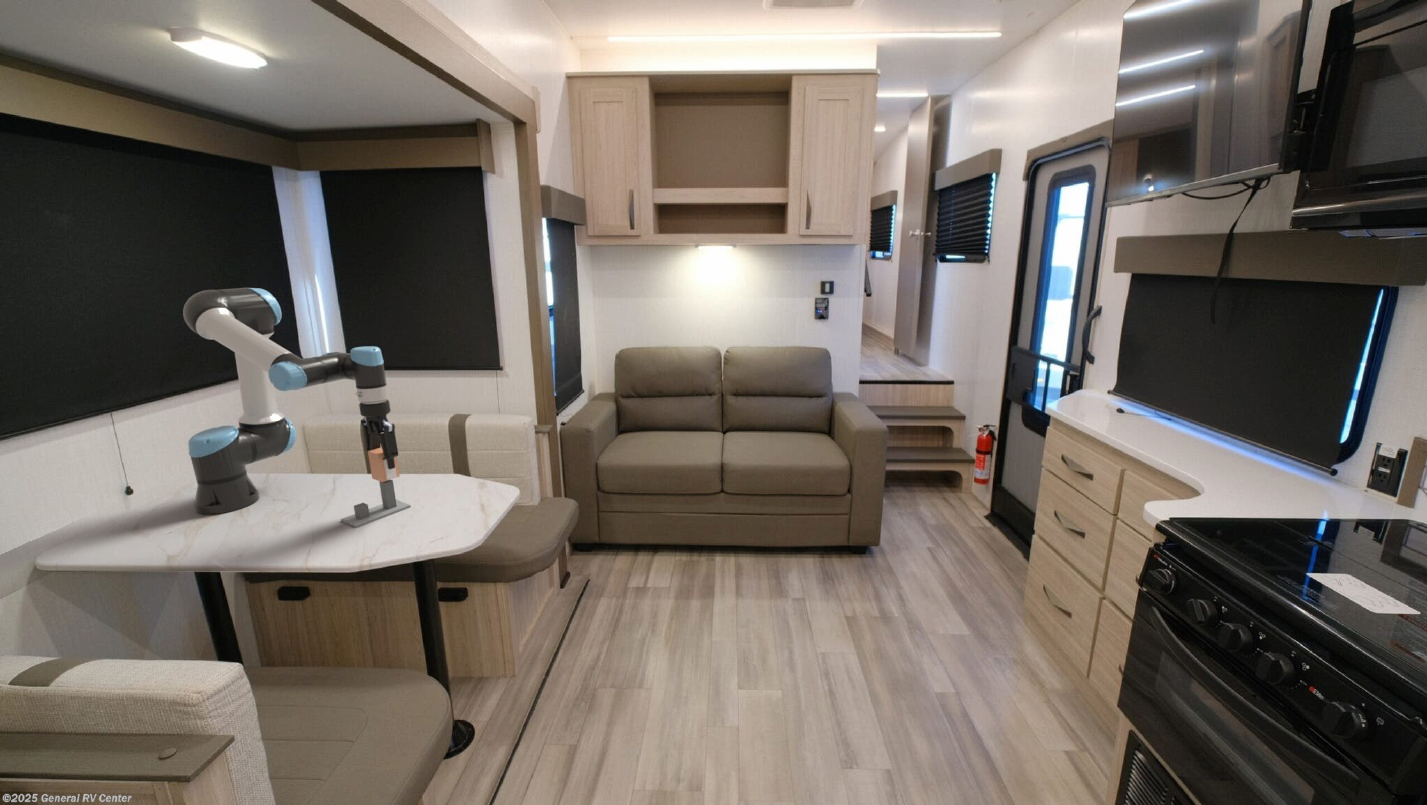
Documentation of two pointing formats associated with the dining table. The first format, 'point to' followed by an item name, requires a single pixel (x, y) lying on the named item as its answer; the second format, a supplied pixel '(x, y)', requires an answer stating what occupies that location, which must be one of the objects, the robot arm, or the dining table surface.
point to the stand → (377, 507)
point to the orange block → (379, 464)
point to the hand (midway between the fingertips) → (386, 476)
